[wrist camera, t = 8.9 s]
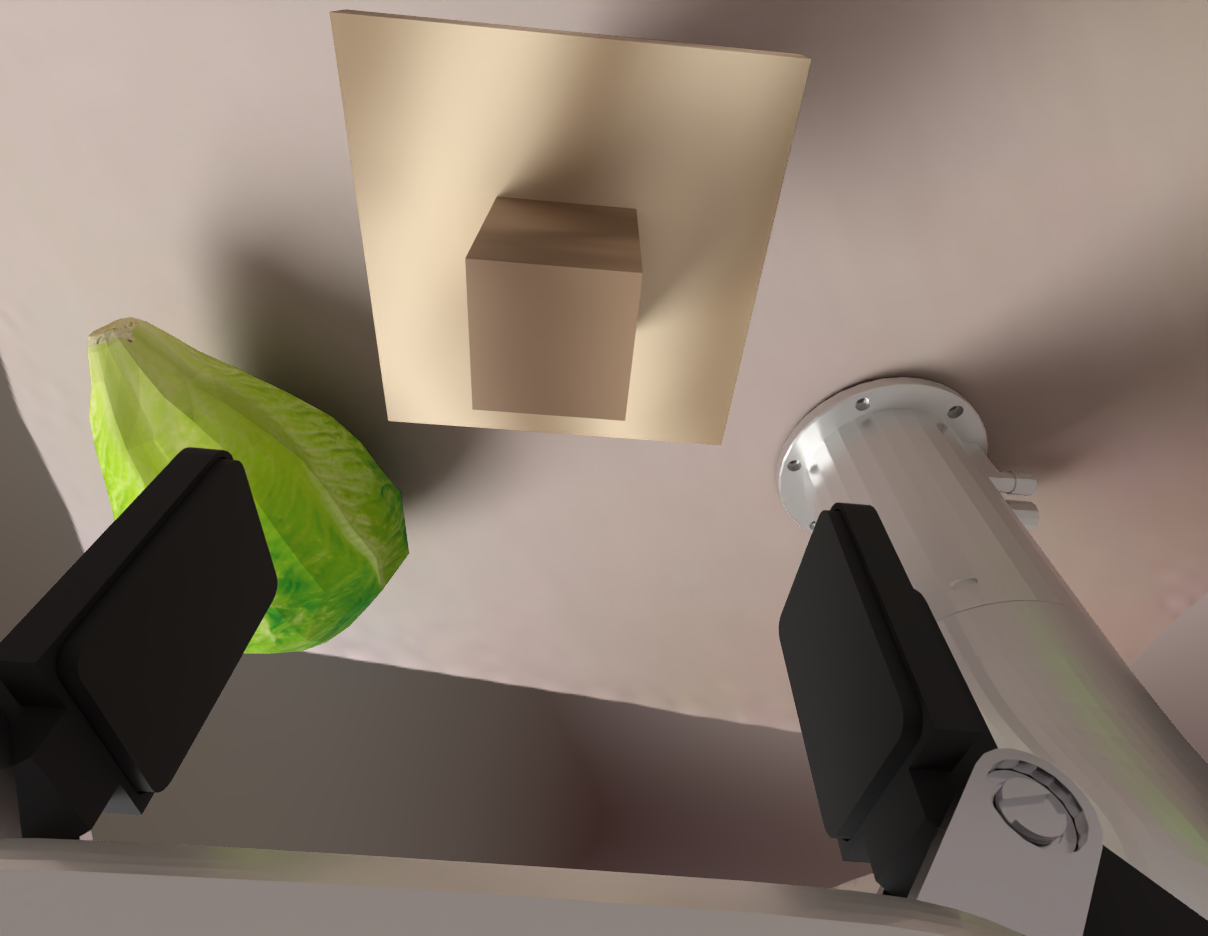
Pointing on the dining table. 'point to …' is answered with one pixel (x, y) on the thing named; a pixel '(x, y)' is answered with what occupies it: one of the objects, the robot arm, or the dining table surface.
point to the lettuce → (252, 473)
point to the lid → (562, 219)
